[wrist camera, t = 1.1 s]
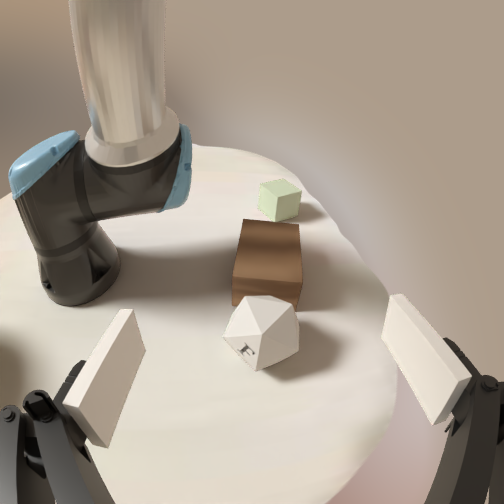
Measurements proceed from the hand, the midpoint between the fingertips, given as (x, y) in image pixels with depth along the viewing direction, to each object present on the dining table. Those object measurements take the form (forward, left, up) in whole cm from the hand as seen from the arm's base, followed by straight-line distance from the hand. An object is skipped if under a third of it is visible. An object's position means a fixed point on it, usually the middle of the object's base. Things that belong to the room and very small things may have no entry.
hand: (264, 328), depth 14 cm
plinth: (-21, +11, -20) cm, 31 cm away
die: (-9, +6, -21) cm, 23 cm away
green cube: (-37, +22, -20) cm, 48 cm away
